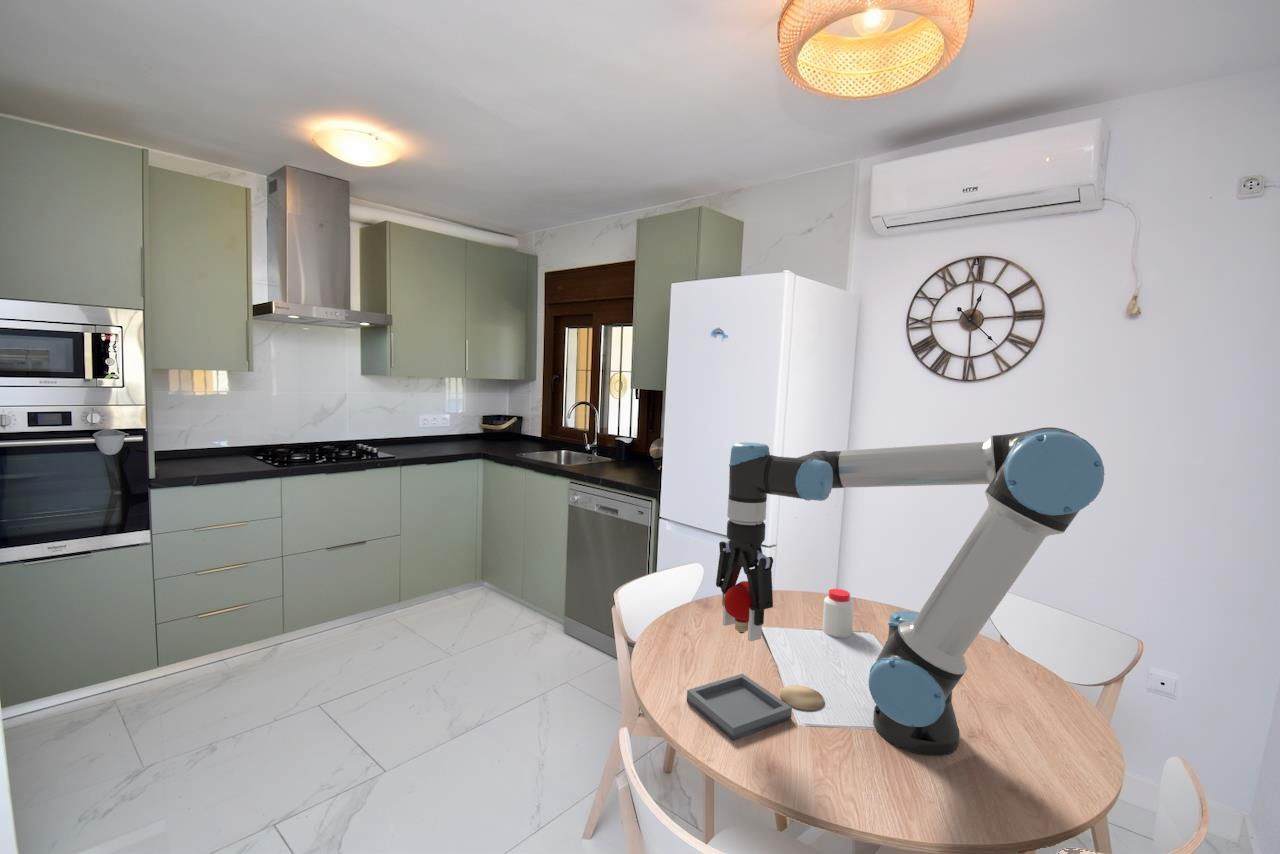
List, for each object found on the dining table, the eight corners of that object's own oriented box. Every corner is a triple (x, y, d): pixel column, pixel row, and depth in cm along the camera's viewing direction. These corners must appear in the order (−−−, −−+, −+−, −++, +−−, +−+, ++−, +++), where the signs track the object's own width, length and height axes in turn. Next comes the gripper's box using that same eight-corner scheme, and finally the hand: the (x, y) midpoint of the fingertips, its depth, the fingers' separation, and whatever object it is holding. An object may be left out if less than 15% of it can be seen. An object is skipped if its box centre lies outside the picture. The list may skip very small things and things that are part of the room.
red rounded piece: (746, 645, 112) (748, 594, 111) (714, 635, 116) (716, 586, 115) (767, 630, 119) (769, 582, 118) (736, 621, 123) (738, 575, 123)
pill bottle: (816, 628, 160) (818, 589, 159) (837, 623, 163) (839, 585, 163) (836, 639, 153) (838, 599, 152) (858, 635, 156) (860, 595, 156)
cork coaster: (832, 703, 122) (832, 701, 122) (802, 714, 118) (802, 712, 118) (801, 683, 130) (801, 681, 130) (771, 693, 126) (771, 691, 126)
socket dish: (791, 718, 116) (791, 707, 116) (732, 740, 109) (733, 728, 109) (742, 683, 129) (742, 673, 129) (686, 701, 122) (687, 690, 121)
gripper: (797, 530, 109) (791, 648, 111) (729, 508, 126) (724, 610, 128) (767, 534, 105) (761, 656, 107) (701, 511, 123) (697, 616, 124)
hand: (741, 631), depth 118 cm, fingers closed on red rounded piece, 7 cm apart
